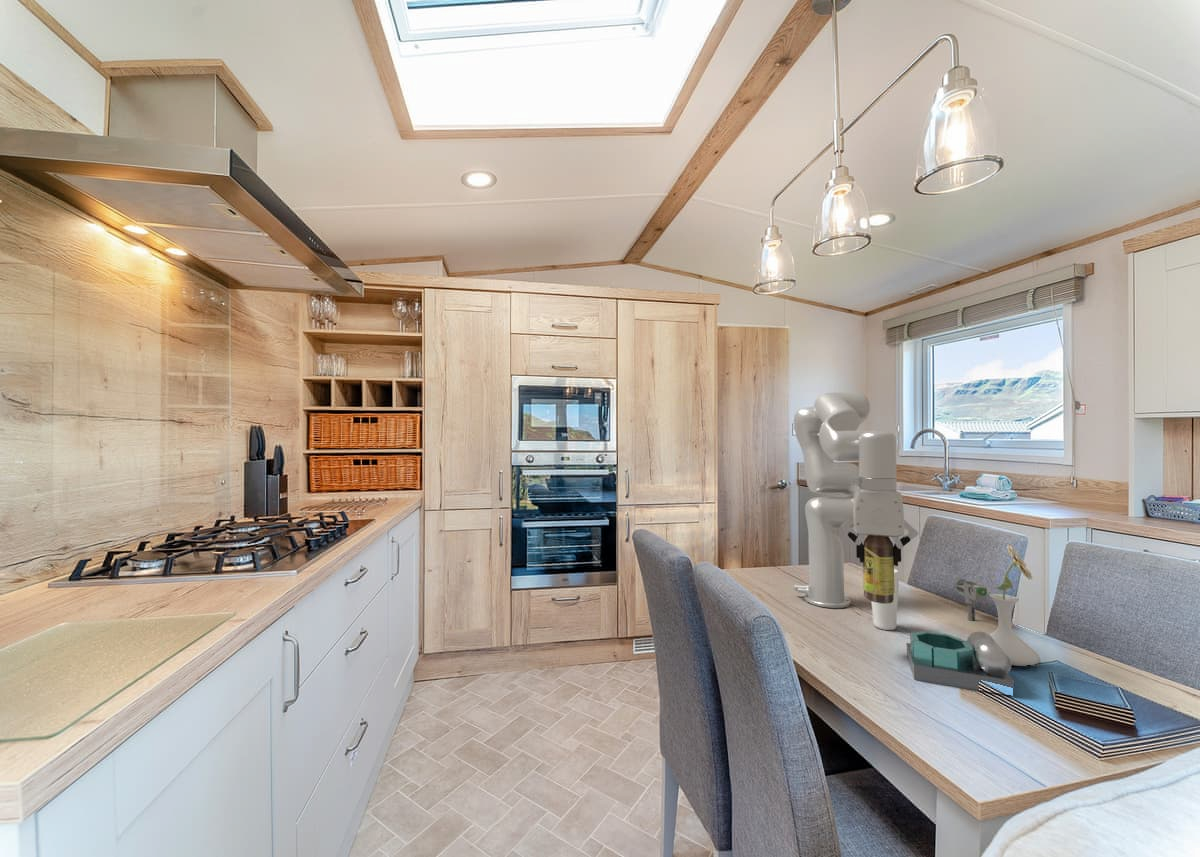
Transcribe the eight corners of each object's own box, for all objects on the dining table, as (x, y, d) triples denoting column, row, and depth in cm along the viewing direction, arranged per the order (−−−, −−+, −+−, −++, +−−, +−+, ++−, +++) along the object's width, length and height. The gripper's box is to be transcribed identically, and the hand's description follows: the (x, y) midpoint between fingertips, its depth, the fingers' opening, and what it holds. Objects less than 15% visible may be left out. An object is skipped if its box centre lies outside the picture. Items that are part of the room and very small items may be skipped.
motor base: (914, 679, 100) (913, 639, 100) (906, 656, 110) (906, 620, 111) (1013, 696, 93) (1012, 654, 93) (995, 670, 103) (994, 632, 104)
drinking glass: (898, 624, 130) (896, 567, 130) (901, 633, 123) (900, 573, 124) (869, 621, 132) (867, 565, 133) (871, 629, 126) (869, 571, 127)
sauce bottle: (861, 594, 117) (860, 510, 117) (890, 596, 115) (889, 512, 115) (866, 603, 111) (865, 515, 111) (897, 606, 109) (896, 516, 109)
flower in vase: (1025, 676, 101) (1021, 554, 102) (963, 655, 111) (960, 544, 112) (1054, 662, 107) (1050, 547, 108) (992, 644, 117) (989, 538, 118)
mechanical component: (965, 613, 138) (964, 577, 138) (990, 627, 128) (989, 588, 128) (954, 613, 138) (953, 577, 138) (978, 626, 128) (977, 588, 128)
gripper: (835, 485, 113) (836, 562, 113) (924, 488, 106) (925, 571, 106) (836, 482, 120) (836, 555, 120) (919, 485, 113) (920, 563, 113)
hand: (878, 562), depth 113 cm, fingers closed on sauce bottle, 6 cm apart
